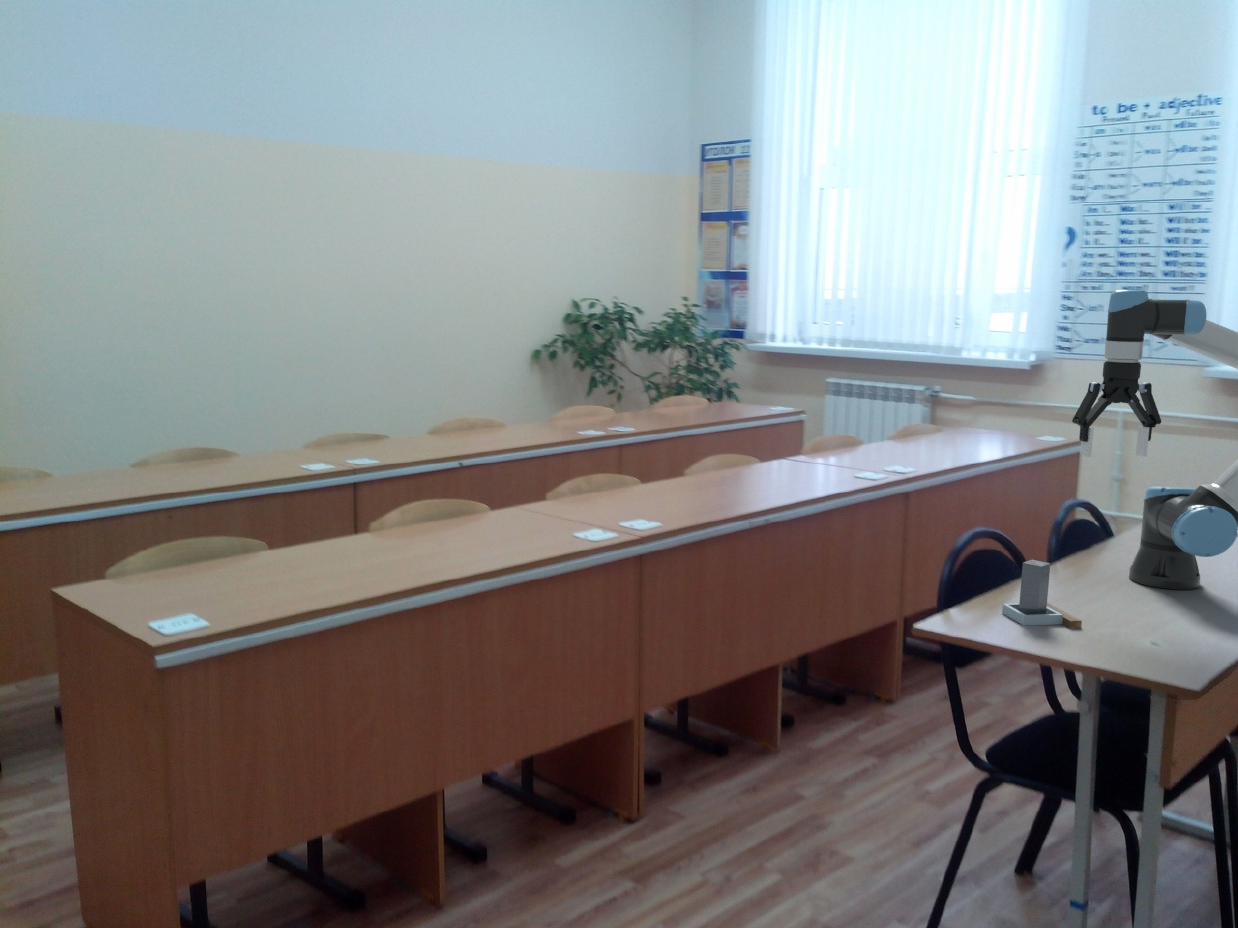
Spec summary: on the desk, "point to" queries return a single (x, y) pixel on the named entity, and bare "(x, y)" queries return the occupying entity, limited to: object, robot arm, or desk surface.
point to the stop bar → (1034, 587)
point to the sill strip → (1067, 618)
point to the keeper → (1032, 616)
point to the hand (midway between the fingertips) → (1113, 456)
